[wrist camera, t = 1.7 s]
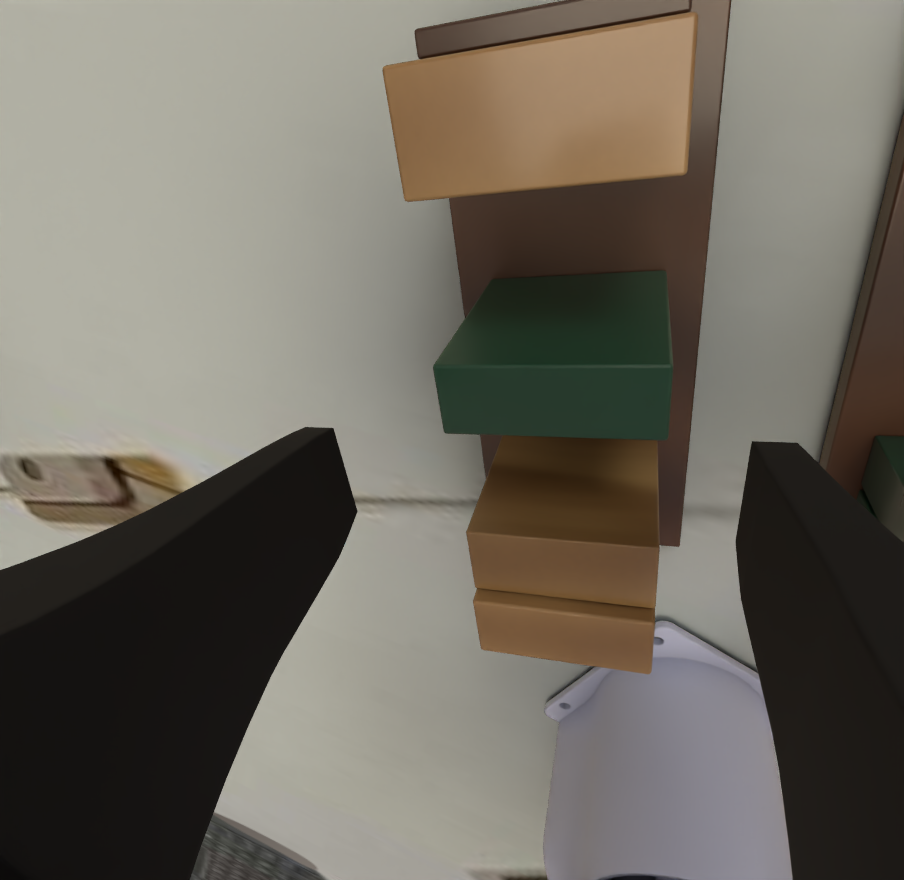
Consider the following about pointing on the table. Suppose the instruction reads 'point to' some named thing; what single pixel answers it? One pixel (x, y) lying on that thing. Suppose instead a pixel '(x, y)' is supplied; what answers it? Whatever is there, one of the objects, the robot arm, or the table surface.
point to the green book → (562, 359)
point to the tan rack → (573, 253)
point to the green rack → (875, 373)
